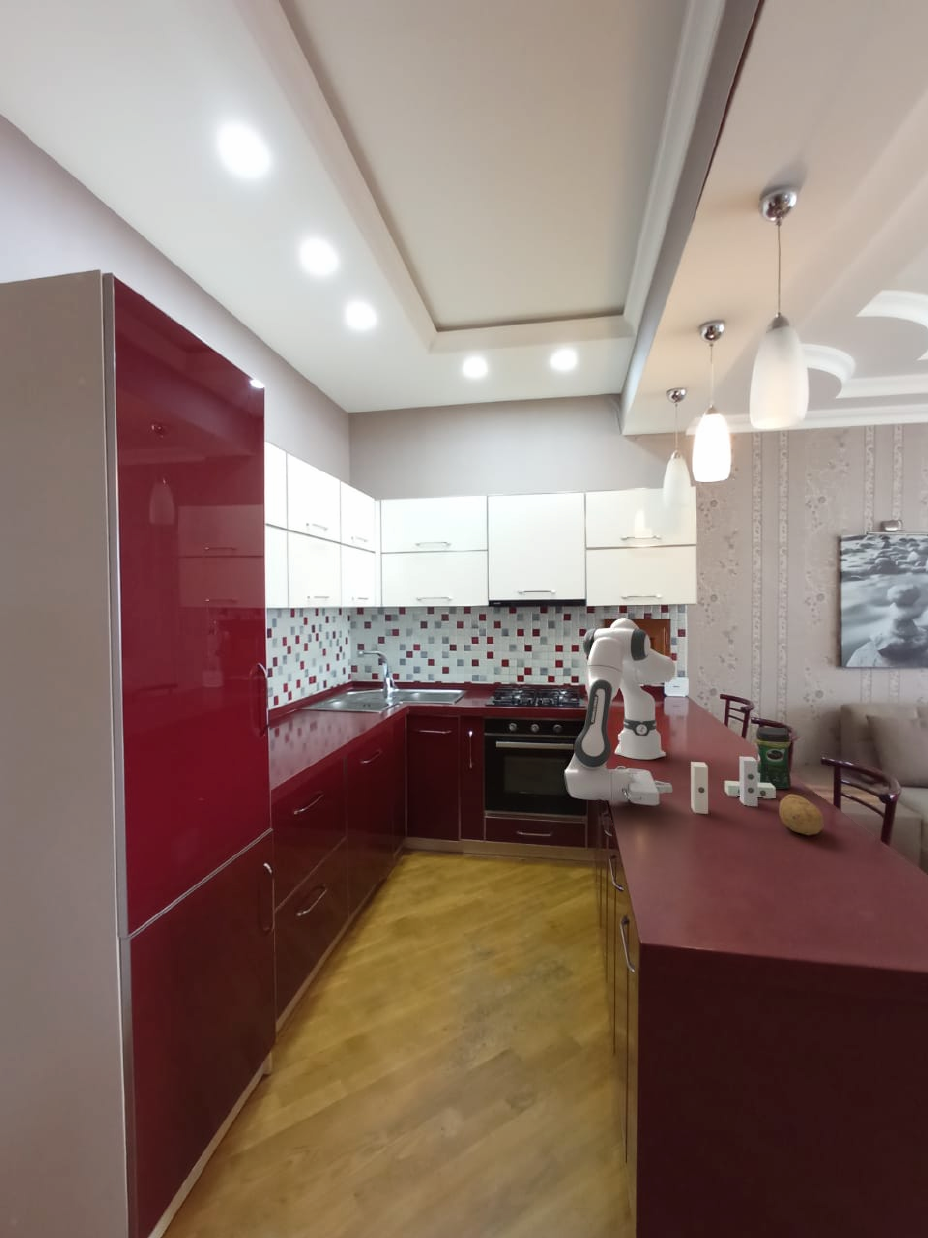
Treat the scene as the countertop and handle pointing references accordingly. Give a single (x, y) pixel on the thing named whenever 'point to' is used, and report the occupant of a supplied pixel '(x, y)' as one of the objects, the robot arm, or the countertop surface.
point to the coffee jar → (773, 757)
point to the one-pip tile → (699, 787)
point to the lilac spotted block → (748, 781)
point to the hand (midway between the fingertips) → (671, 788)
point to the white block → (762, 789)
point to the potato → (800, 815)
